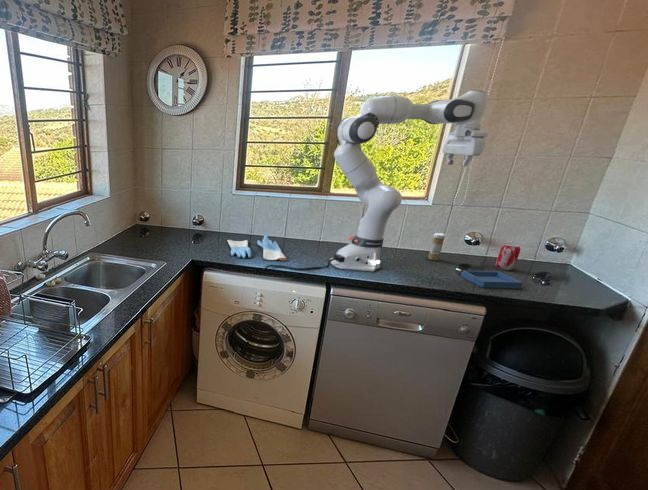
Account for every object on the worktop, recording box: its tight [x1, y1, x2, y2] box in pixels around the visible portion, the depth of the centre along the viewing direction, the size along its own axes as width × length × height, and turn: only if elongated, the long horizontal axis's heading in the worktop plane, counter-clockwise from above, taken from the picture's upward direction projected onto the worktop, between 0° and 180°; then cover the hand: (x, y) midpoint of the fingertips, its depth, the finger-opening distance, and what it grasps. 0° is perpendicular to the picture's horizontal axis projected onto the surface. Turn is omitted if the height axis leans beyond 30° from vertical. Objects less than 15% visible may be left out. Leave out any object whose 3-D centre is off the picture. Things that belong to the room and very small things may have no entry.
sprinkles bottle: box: [427, 232, 446, 261], centre depth 203 cm, size 5×5×13 cm
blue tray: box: [460, 270, 523, 290], centre depth 176 cm, size 16×14×3 cm
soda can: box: [494, 242, 521, 271], centre depth 191 cm, size 7×7×12 cm
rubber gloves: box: [227, 234, 288, 261], centre depth 216 cm, size 27×33×6 cm
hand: (456, 165), depth 178 cm, fingers open, 8 cm apart
